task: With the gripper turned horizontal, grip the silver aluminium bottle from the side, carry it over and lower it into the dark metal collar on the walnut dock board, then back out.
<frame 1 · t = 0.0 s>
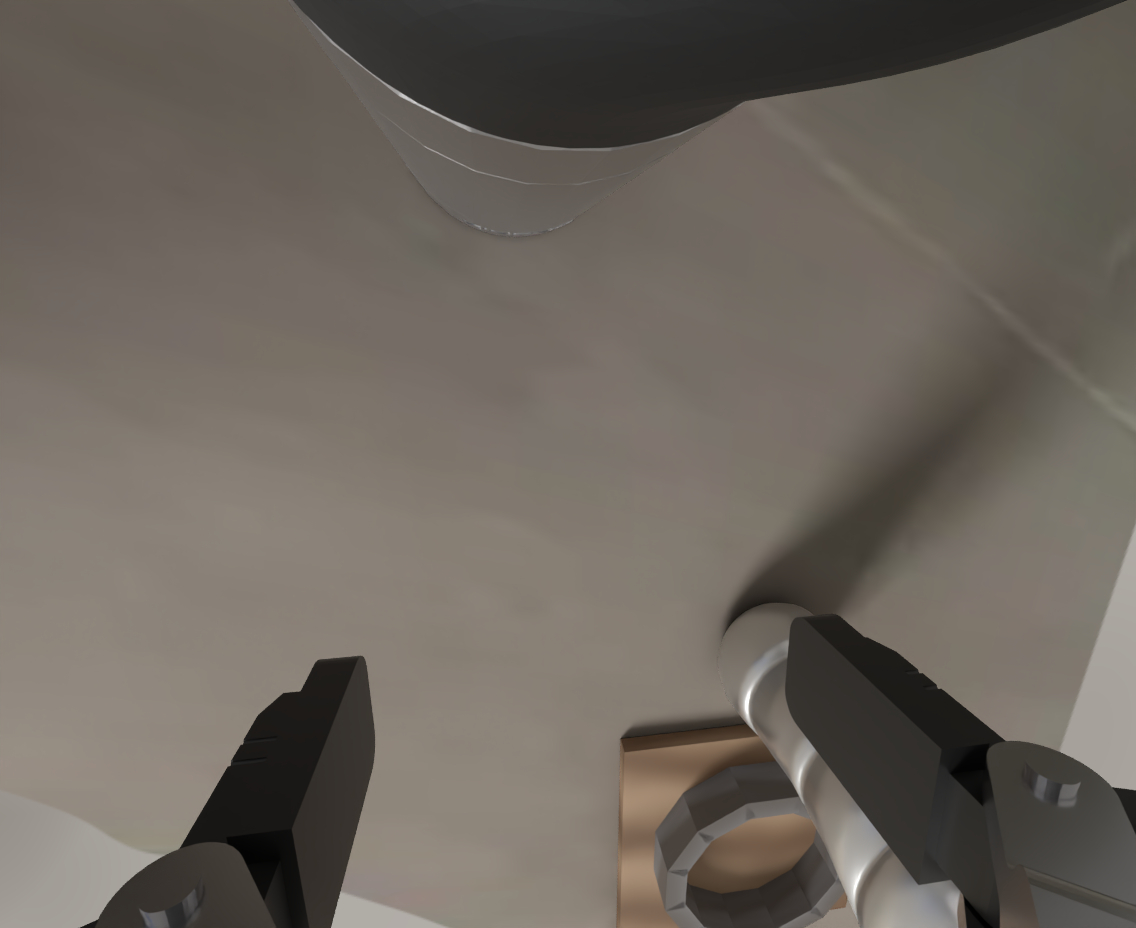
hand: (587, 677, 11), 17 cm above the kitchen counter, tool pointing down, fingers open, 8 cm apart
silver aluminium bottle: (757, 637, 32), on the kitchen counter
bottle dock: (739, 823, 37), on the kitchen counter
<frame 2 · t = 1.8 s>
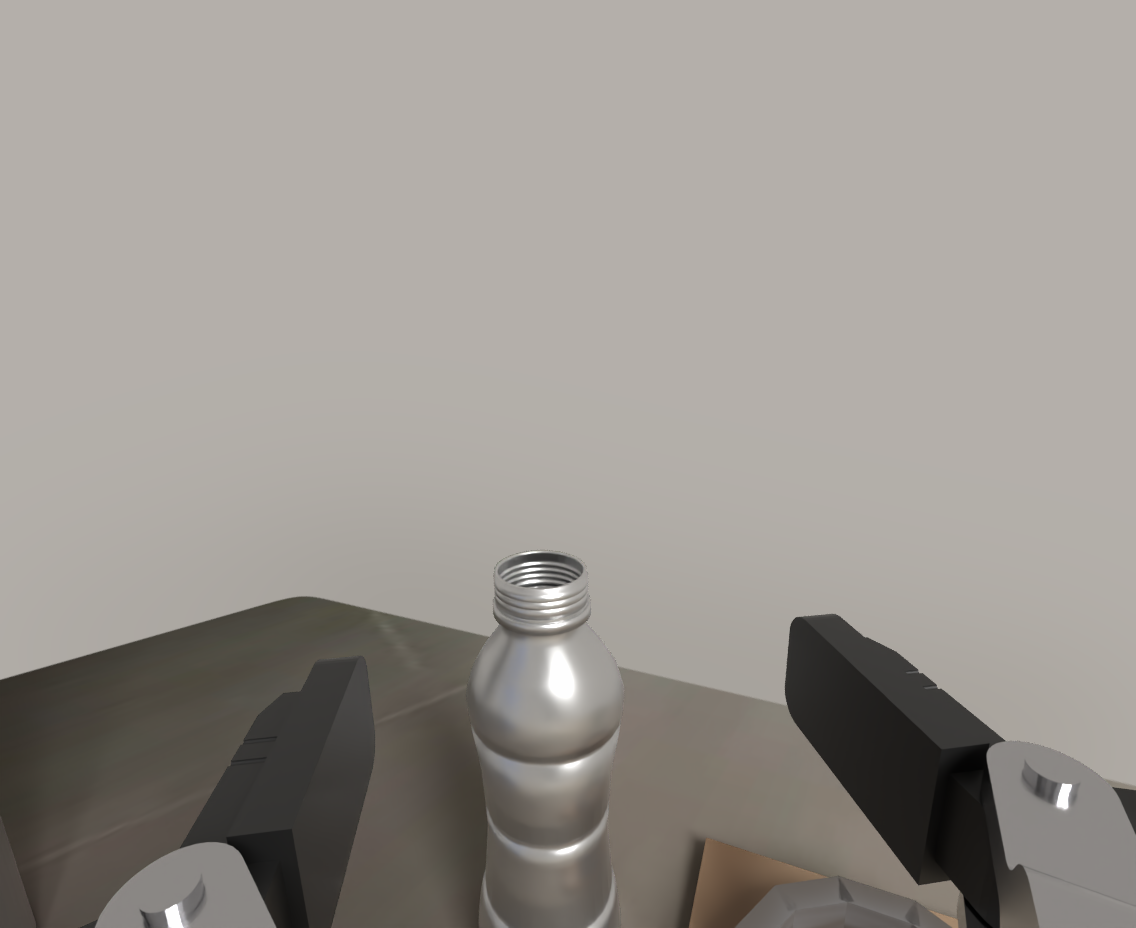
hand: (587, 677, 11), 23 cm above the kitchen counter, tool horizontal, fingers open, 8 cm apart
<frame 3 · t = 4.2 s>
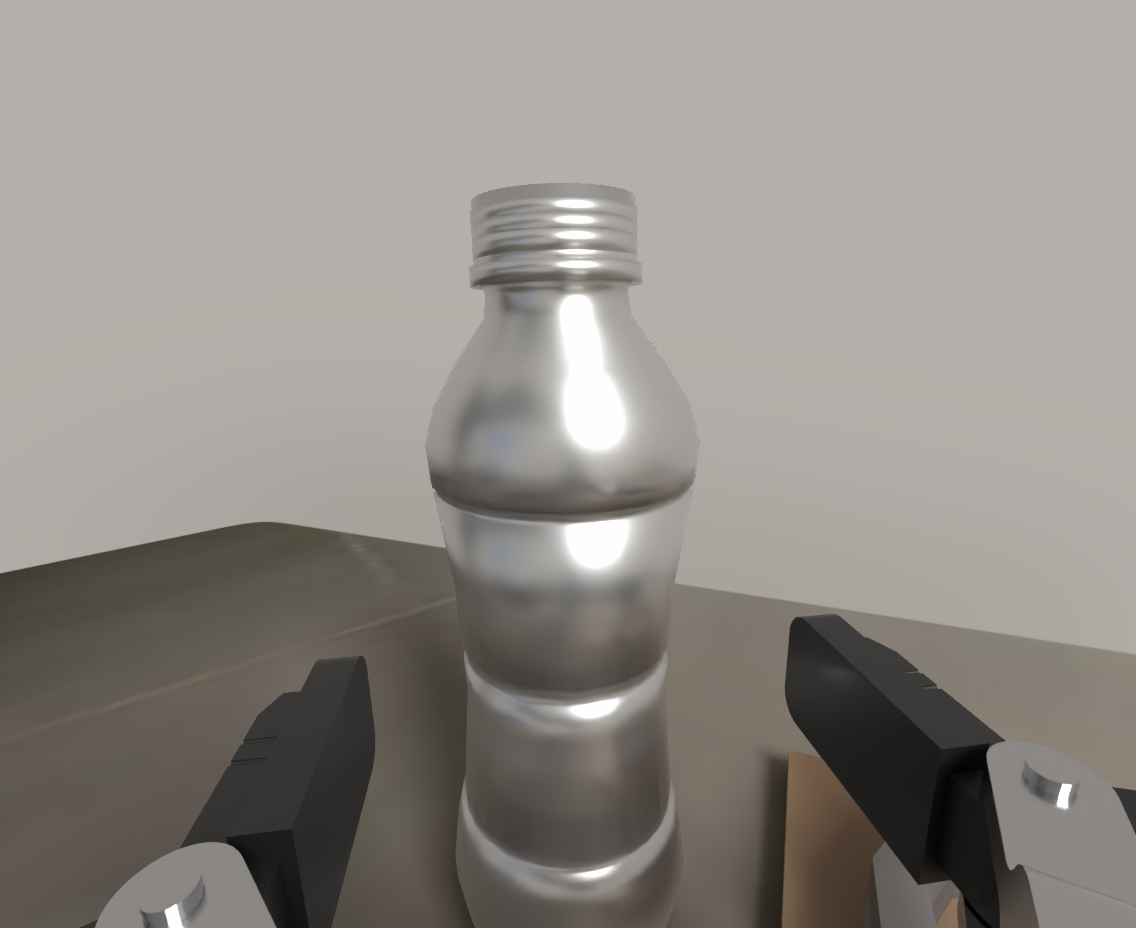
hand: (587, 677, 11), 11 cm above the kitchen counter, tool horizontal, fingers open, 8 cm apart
silver aluminium bottle: (570, 911, 17), on the kitchen counter
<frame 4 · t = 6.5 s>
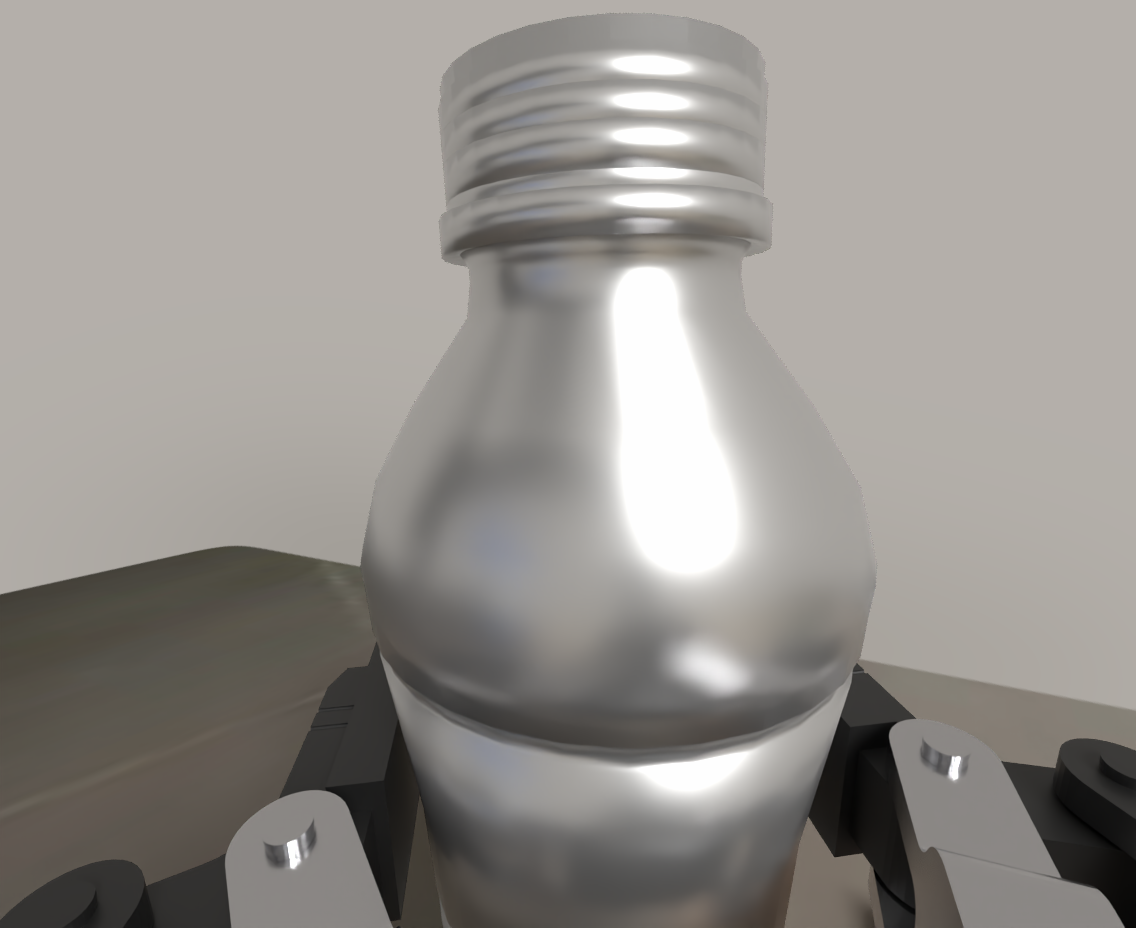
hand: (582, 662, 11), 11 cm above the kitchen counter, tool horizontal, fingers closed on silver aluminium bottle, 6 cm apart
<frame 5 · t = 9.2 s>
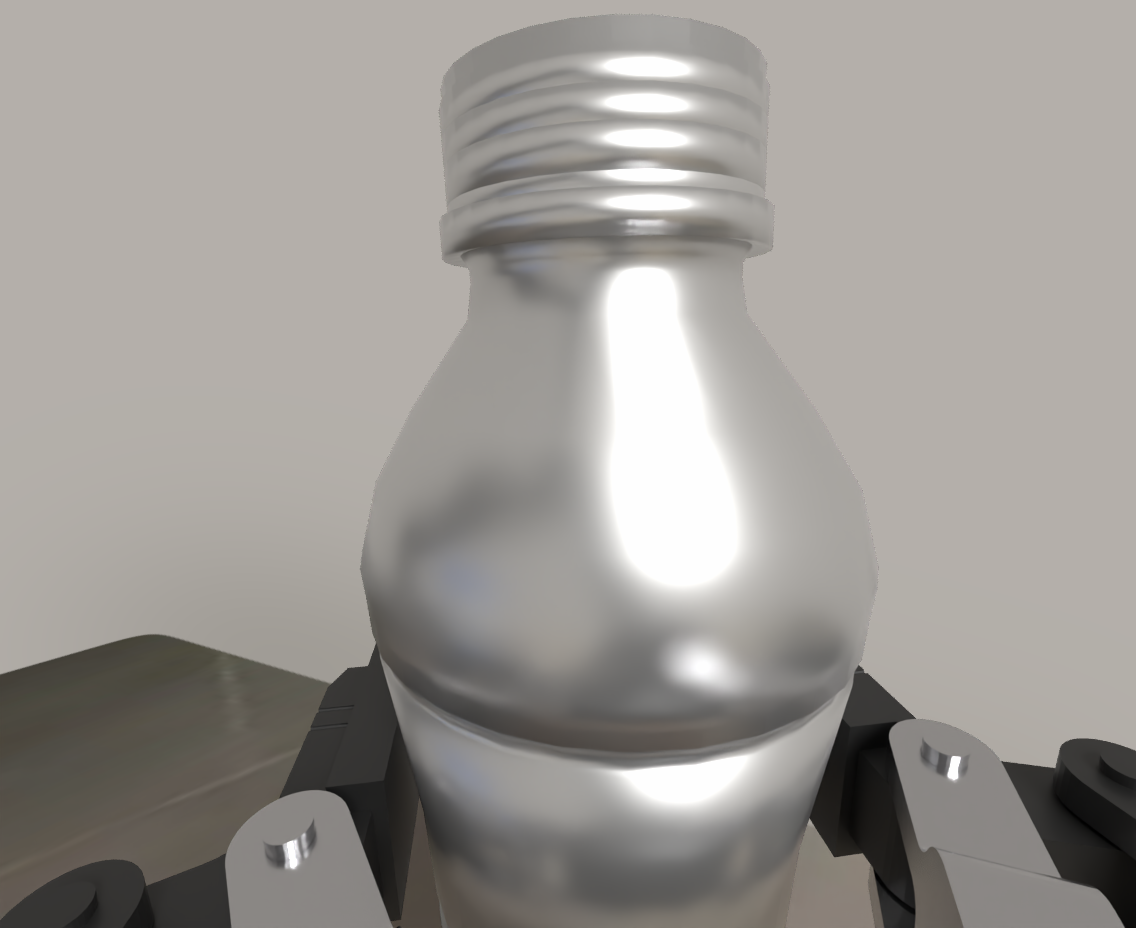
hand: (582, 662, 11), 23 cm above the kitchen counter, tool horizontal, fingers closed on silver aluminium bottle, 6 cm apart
when the fingers open (13 cm above the kitchen counter, at t = 12.4 s): silver aluminium bottle drops 1 cm, resting on bottle dock.
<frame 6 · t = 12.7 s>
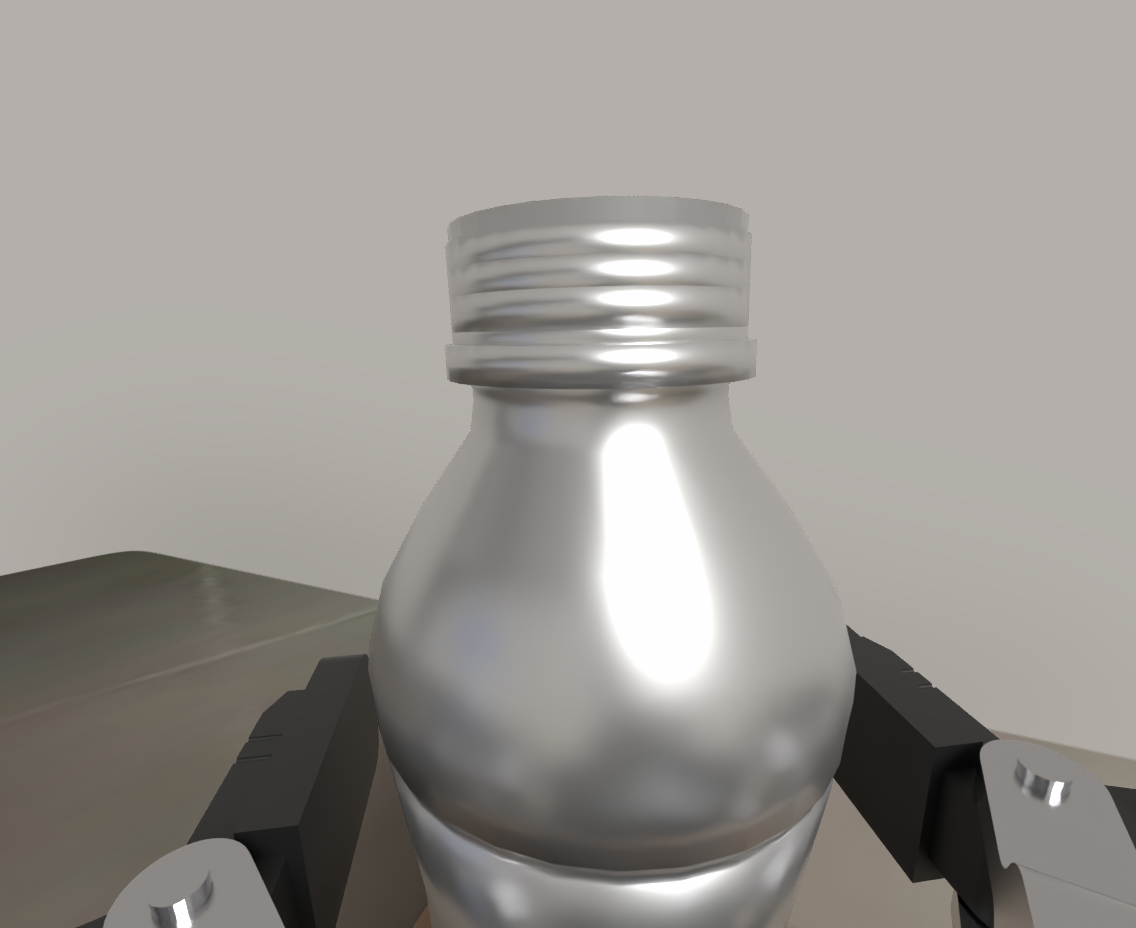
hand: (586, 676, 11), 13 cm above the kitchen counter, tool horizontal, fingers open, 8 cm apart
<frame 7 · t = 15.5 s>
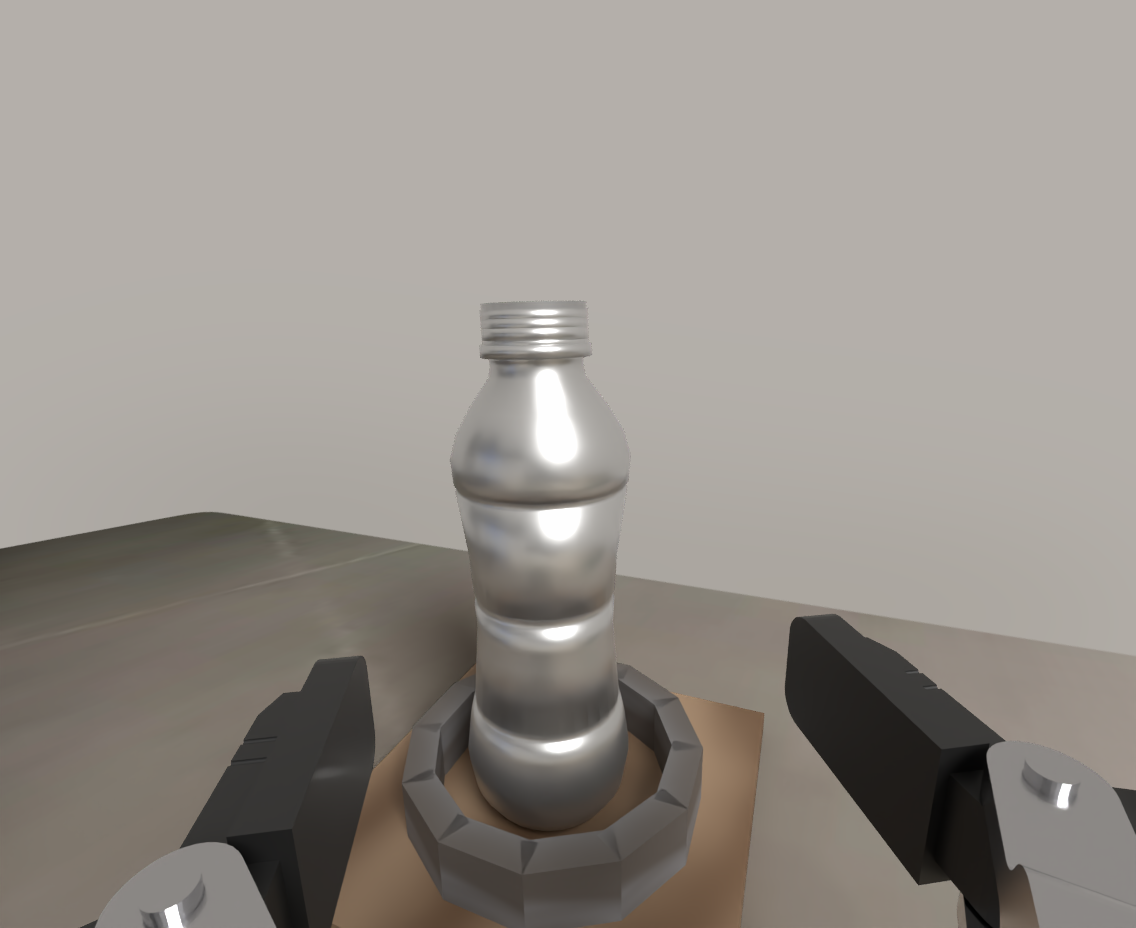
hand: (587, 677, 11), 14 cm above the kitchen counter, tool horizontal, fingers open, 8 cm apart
silver aluminium bottle: (550, 792, 24), point 1 cm above the kitchen counter, touching bottle dock
bottle dock: (555, 804, 25), on the kitchen counter
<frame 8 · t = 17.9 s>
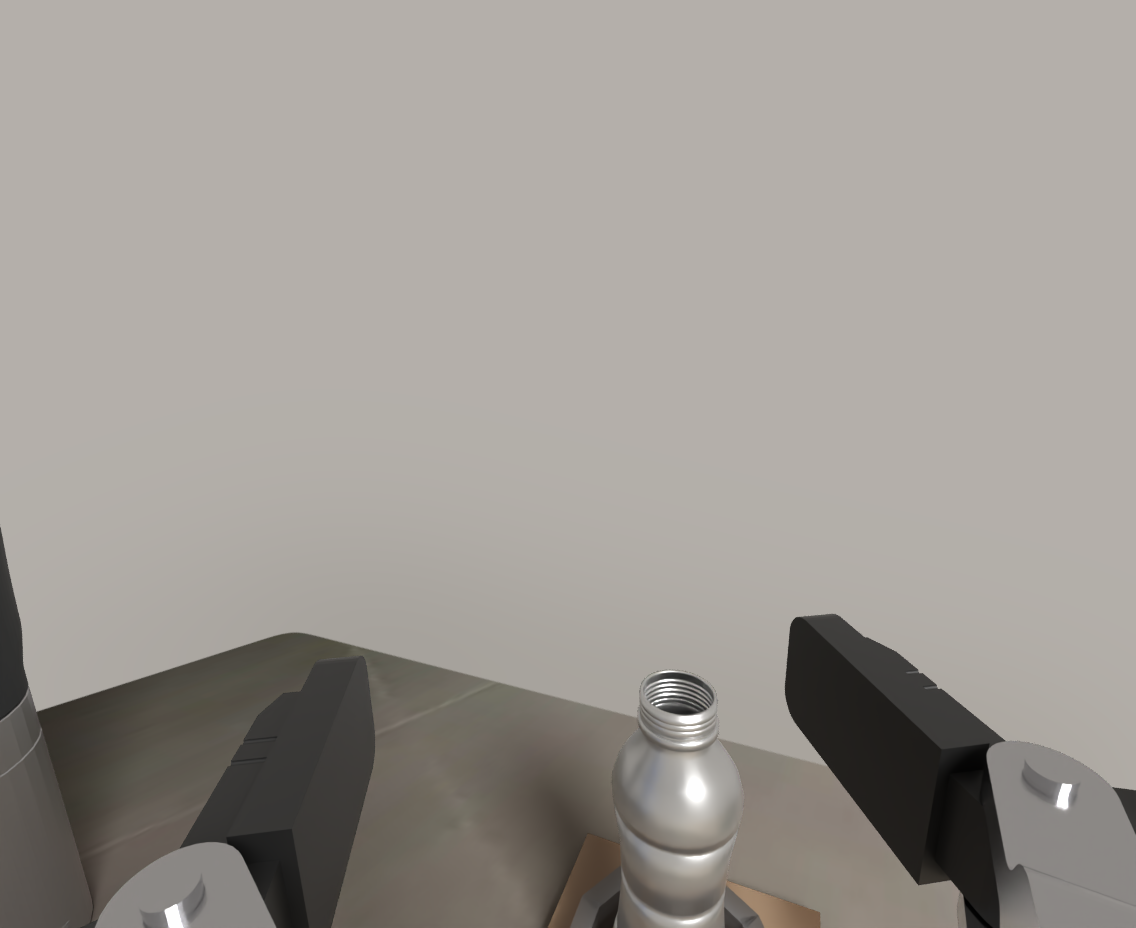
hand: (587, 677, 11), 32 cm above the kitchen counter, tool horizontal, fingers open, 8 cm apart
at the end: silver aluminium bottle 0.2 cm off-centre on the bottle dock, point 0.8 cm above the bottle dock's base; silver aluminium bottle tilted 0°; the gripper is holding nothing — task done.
